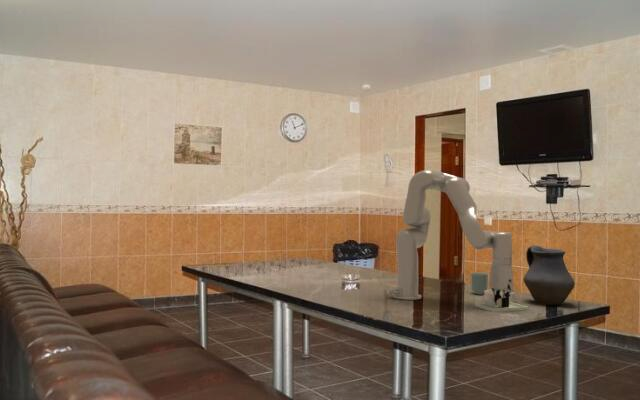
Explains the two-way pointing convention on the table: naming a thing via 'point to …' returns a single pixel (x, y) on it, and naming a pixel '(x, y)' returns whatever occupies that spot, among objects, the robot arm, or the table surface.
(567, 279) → the pitcher
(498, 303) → the pebble
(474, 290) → the cup
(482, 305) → the tray
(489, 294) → the bowl
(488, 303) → the pebble
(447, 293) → the table surface
